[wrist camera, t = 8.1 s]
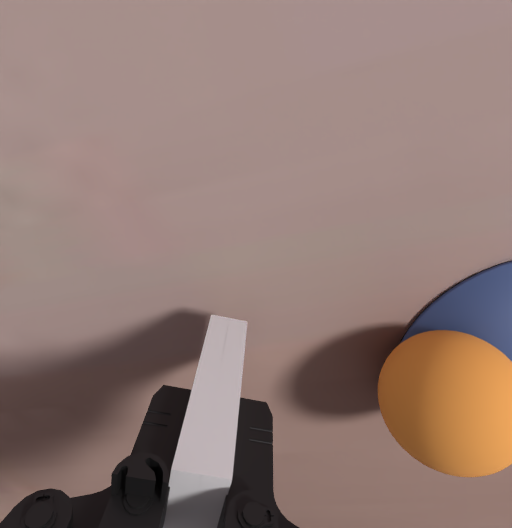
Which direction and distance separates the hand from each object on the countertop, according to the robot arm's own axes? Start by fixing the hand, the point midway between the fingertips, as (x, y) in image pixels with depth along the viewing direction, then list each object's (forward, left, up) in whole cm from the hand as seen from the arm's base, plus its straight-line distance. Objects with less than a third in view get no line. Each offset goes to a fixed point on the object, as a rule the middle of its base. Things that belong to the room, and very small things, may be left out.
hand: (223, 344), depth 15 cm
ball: (+5, -8, +1) cm, 9 cm away
